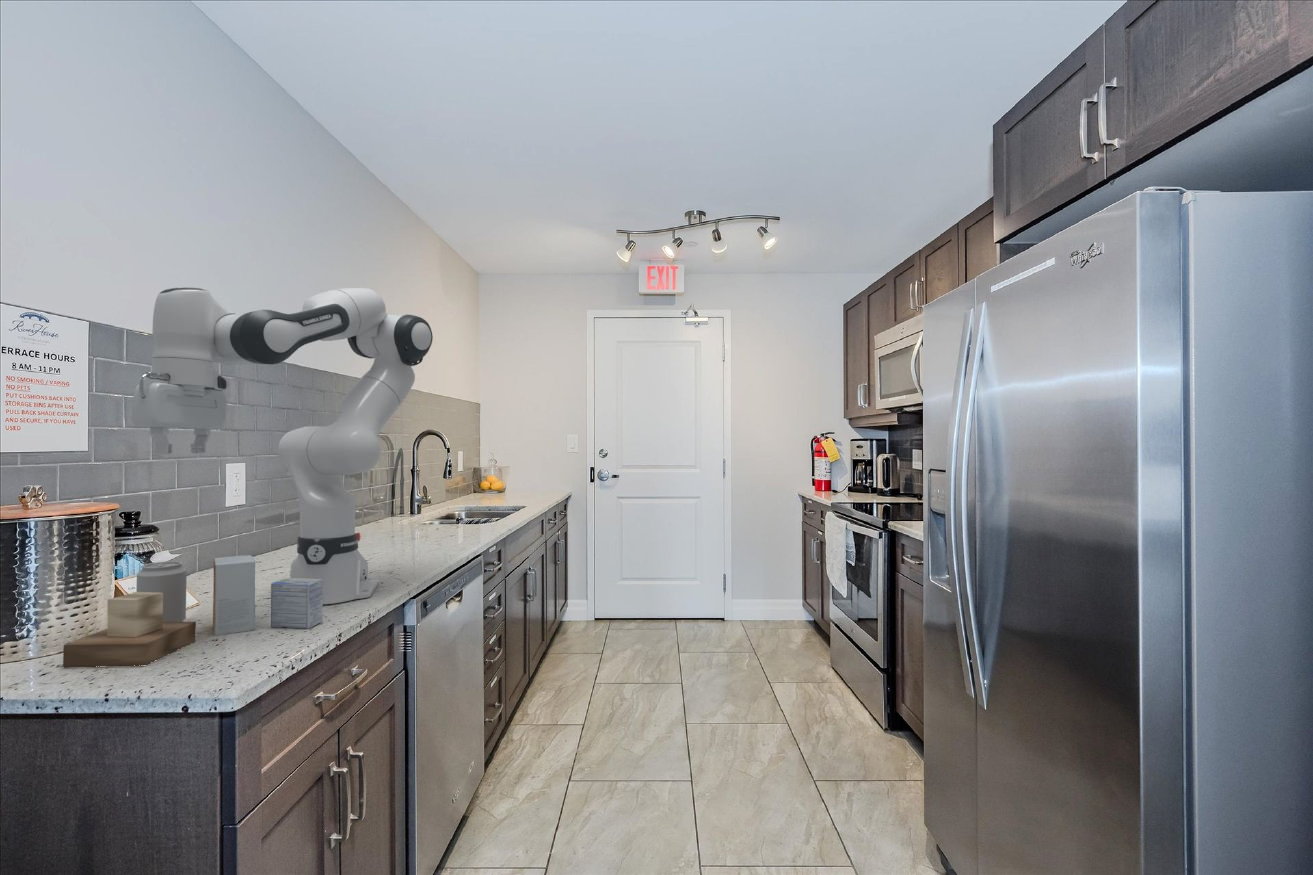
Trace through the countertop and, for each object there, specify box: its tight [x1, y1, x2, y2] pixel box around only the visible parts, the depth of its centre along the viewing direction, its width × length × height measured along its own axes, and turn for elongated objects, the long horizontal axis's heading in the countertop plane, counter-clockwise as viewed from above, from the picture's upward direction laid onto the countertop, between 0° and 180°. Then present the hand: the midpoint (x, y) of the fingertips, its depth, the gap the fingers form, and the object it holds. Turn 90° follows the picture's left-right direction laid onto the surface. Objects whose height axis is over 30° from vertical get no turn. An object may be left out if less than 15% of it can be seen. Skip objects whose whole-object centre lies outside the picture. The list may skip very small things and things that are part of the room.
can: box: [135, 560, 188, 622], centre depth 118 cm, size 8×8×12 cm
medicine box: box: [270, 577, 324, 629], centre depth 120 cm, size 8×4×9 cm, turn 84°
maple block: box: [106, 591, 163, 637], centre depth 103 cm, size 5×5×6 cm
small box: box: [212, 554, 256, 637], centre depth 117 cm, size 8×6×13 cm
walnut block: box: [62, 621, 197, 668], centre depth 103 cm, size 12×12×4 cm
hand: (181, 453), depth 111 cm, fingers open, 8 cm apart
